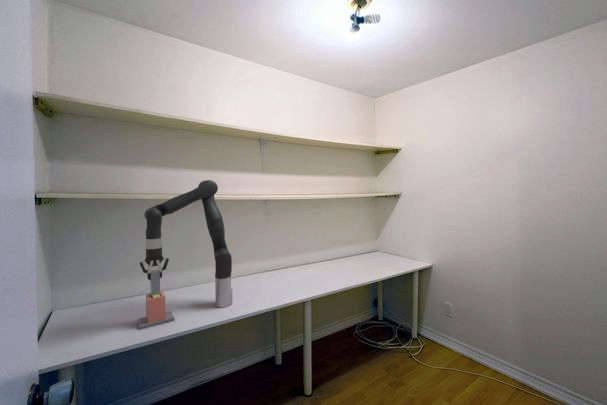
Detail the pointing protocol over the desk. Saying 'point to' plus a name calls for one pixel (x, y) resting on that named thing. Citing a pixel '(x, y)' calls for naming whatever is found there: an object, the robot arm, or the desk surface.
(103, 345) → the desk surface
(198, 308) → the desk surface
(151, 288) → the steel column
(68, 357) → the desk surface
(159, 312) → the stand sleeve
